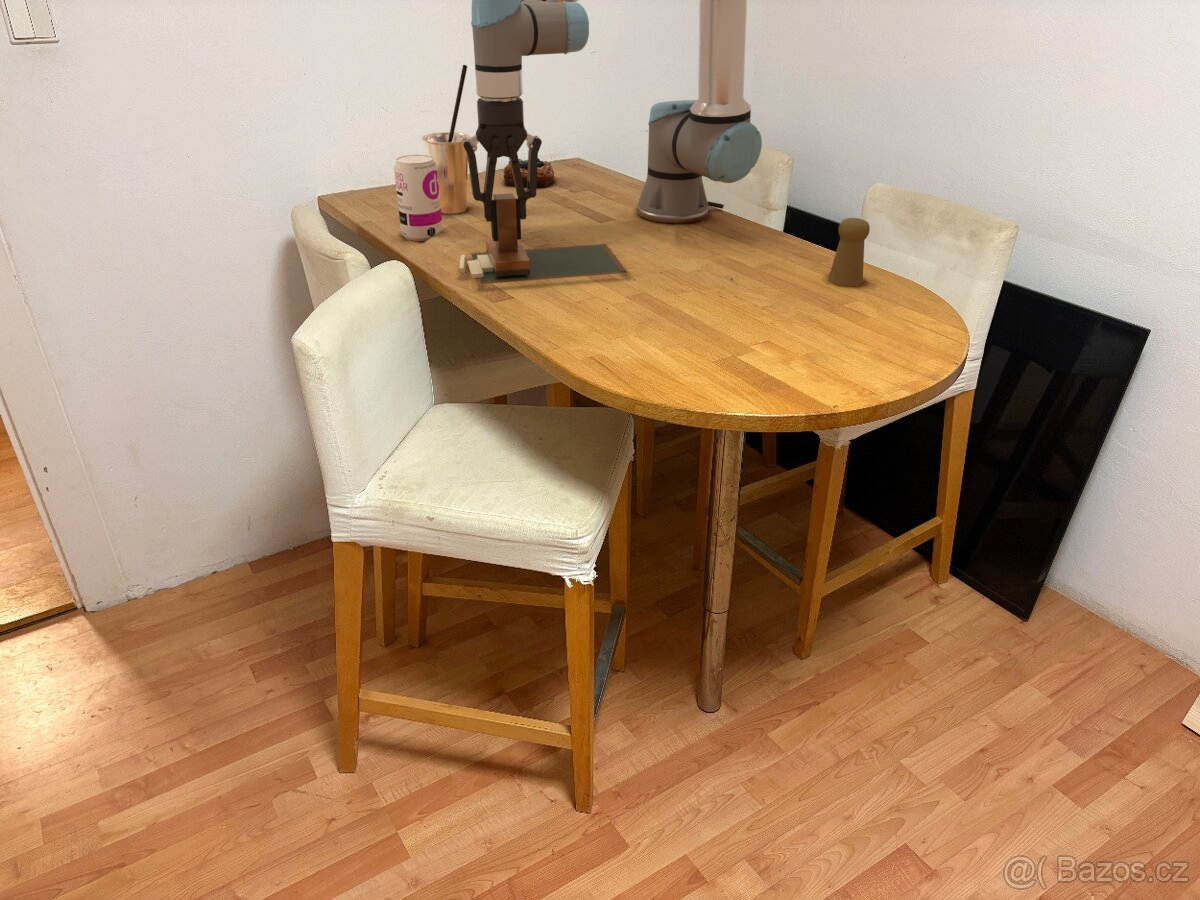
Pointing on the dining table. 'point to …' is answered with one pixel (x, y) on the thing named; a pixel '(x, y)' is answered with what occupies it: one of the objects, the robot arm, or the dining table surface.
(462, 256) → the cream rectangular block
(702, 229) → the dining table surface
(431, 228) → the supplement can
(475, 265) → the cream wooden plank
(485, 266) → the pale wooden block
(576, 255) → the chalkboard
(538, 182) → the pastry
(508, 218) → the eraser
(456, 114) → the copper cup with straw
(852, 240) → the brown pawn
